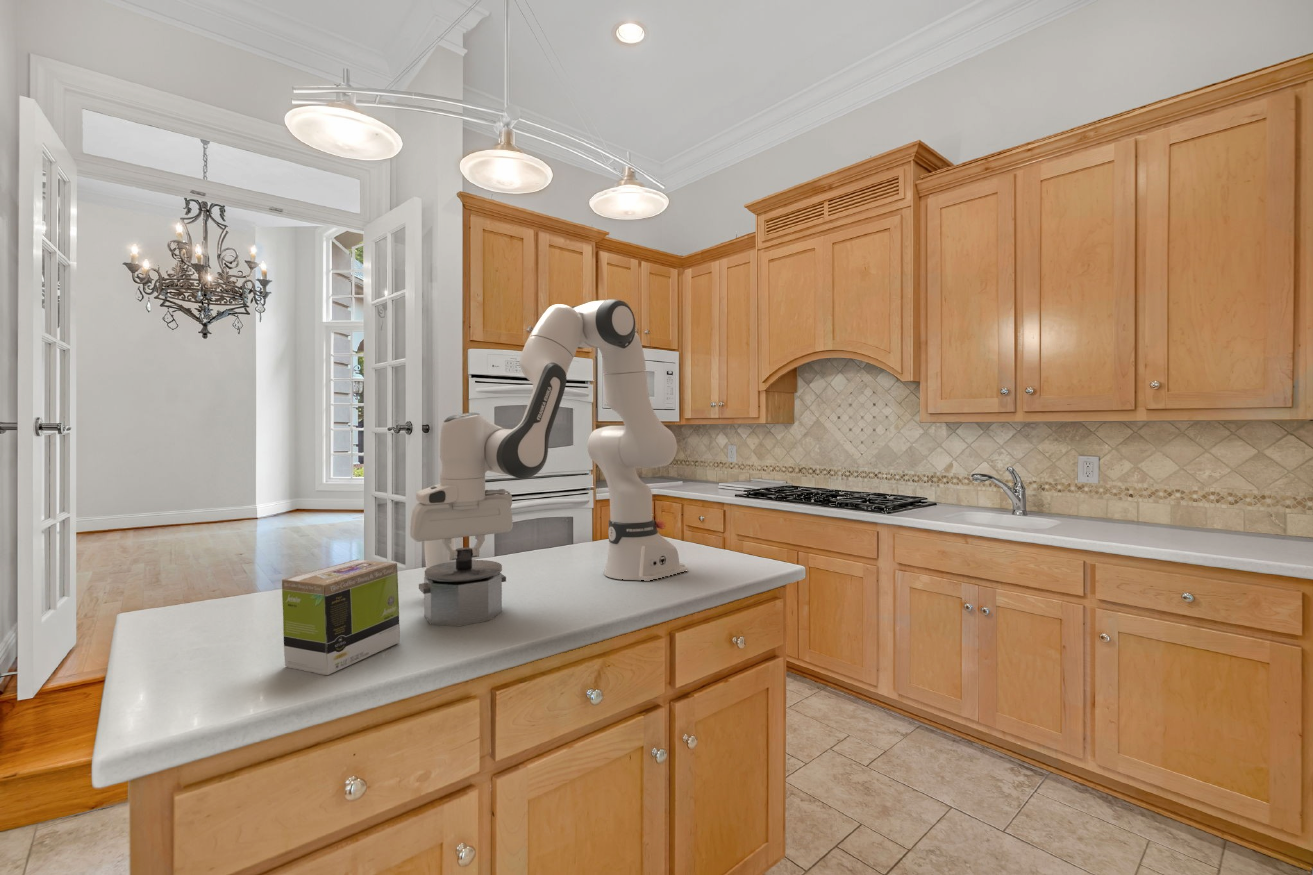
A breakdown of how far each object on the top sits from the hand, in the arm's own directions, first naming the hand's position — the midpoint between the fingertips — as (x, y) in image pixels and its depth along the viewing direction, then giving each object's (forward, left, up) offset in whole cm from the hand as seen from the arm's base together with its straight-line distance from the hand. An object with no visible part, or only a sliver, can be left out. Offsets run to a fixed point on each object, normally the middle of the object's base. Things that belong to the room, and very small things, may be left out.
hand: (463, 558), depth 122 cm
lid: (0, 0, -4) cm, 4 cm away
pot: (0, 0, -12) cm, 12 cm away
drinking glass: (+1, -15, -12) cm, 19 cm away
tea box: (+23, +11, -12) cm, 28 cm away
